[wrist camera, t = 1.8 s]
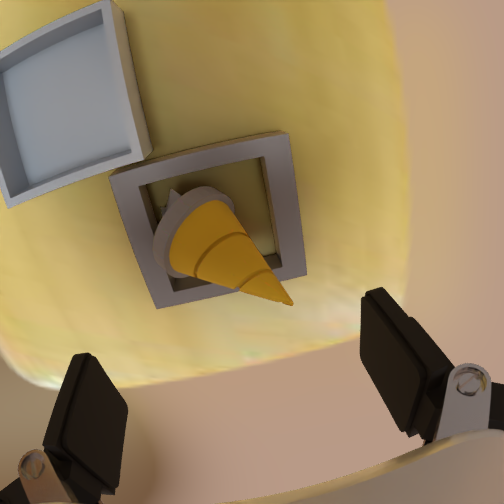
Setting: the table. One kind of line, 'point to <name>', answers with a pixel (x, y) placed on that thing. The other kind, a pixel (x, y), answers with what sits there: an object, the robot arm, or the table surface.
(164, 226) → the grooved yellow cone
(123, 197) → the holder panel
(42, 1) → the table surface
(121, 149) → the parts tray
